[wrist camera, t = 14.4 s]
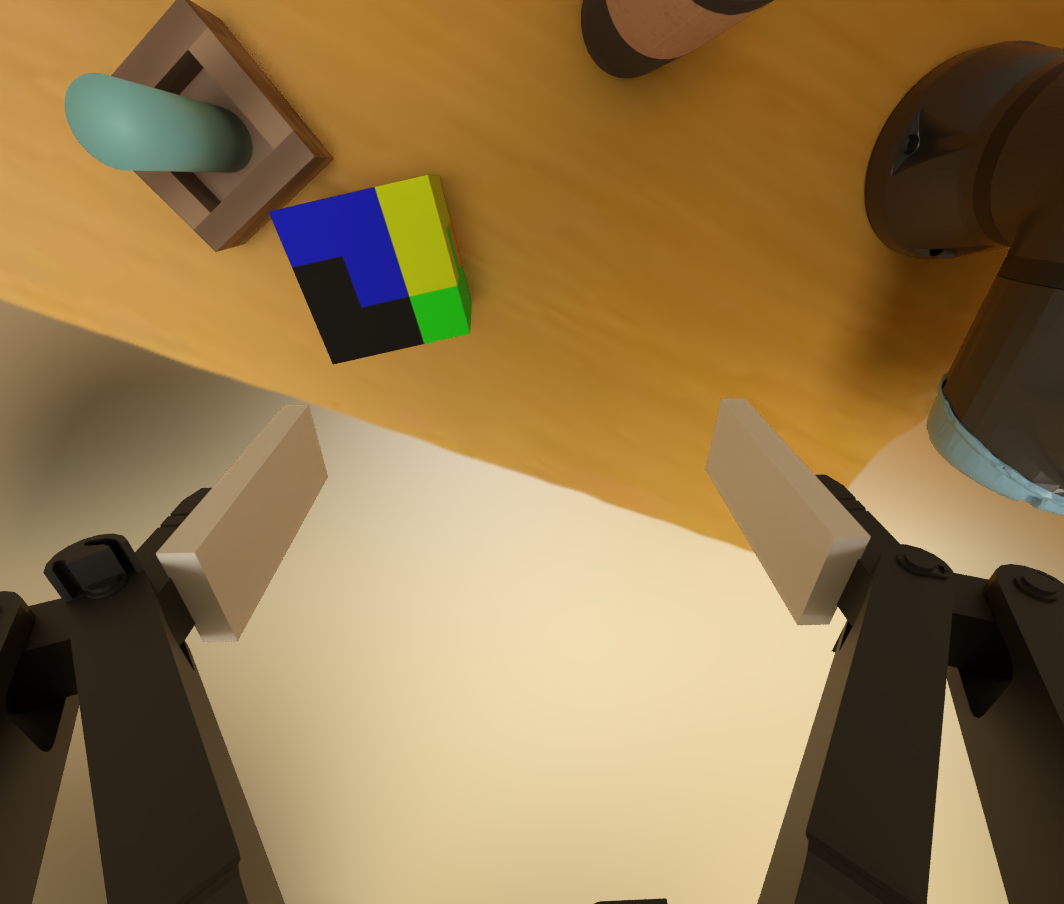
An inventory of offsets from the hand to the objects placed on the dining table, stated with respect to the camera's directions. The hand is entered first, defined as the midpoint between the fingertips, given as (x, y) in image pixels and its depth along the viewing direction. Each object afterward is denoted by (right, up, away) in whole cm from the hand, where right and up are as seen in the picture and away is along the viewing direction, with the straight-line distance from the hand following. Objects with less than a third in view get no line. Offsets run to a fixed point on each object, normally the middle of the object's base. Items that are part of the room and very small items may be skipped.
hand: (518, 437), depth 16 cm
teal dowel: (-21, +21, +19) cm, 36 cm away
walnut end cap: (-22, +22, +20) cm, 37 cm away
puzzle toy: (-11, +16, +25) cm, 32 cm away
